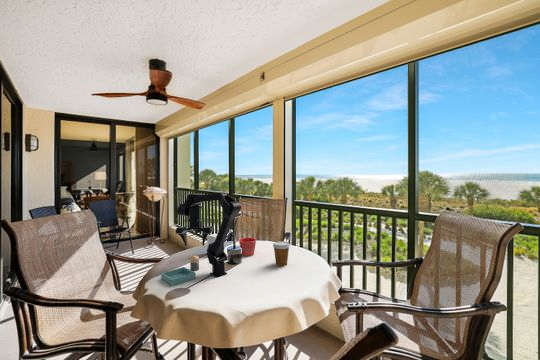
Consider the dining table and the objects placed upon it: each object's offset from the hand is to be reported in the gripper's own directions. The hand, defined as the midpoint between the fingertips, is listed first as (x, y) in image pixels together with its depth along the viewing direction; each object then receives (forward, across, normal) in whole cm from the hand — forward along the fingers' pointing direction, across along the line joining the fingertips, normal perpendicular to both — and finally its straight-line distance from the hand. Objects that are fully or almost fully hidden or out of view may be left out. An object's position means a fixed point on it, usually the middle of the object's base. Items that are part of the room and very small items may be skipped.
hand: (194, 245), depth 134 cm
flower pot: (+13, -26, -26) cm, 39 cm away
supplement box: (+13, -5, -27) cm, 30 cm away
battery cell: (+13, 0, 0) cm, 13 cm away
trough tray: (+13, +4, +13) cm, 19 cm away
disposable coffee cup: (+13, -47, -7) cm, 49 cm away
